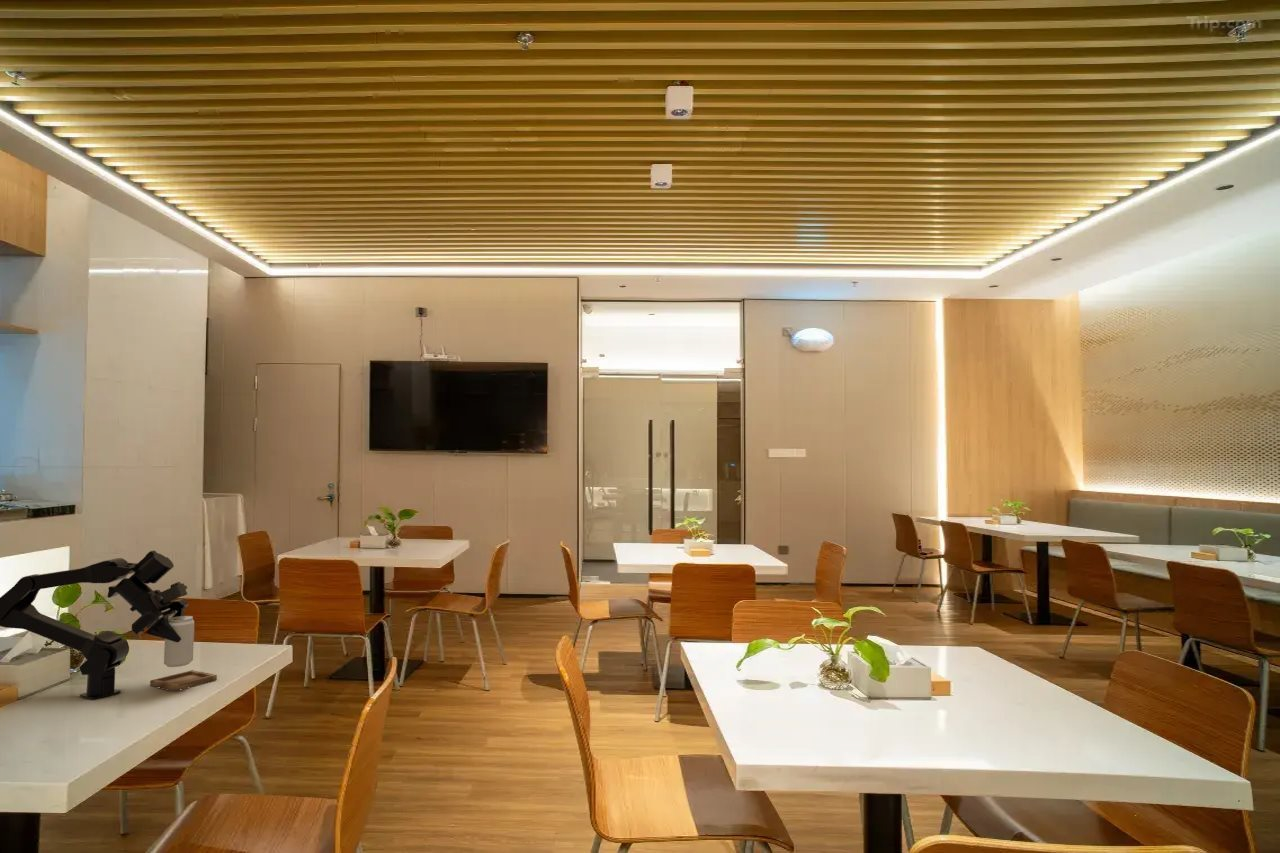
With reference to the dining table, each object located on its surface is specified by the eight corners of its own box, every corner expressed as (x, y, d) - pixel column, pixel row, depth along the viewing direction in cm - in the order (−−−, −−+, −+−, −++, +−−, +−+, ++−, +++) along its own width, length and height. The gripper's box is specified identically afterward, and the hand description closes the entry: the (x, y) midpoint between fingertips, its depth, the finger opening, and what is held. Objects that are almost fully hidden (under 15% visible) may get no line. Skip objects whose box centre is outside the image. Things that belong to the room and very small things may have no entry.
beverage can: (158, 668, 182) (160, 620, 183) (172, 661, 189) (174, 615, 189) (184, 667, 183) (186, 620, 183) (197, 660, 189) (199, 615, 190)
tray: (150, 686, 189) (150, 680, 189) (192, 675, 199) (192, 670, 199) (174, 691, 184) (175, 685, 184) (216, 680, 194) (216, 674, 194)
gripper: (147, 578, 177) (194, 622, 178) (182, 569, 196) (224, 608, 197) (110, 612, 175) (158, 656, 177) (148, 599, 194) (191, 638, 195)
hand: (185, 638), depth 186 cm, fingers closed on beverage can, 6 cm apart
